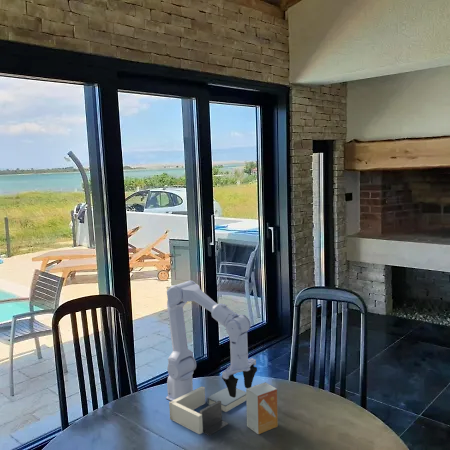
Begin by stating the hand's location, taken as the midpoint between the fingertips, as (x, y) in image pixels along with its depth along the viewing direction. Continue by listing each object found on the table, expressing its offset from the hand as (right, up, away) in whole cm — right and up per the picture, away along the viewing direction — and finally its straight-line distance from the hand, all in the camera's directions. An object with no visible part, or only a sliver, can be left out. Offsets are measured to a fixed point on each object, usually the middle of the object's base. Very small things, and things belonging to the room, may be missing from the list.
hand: (240, 392), depth 154 cm
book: (-4, -9, +14) cm, 17 cm away
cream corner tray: (-13, -10, +5) cm, 17 cm away
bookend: (-8, -10, -3) cm, 14 cm away
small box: (+7, -10, -3) cm, 13 cm away
